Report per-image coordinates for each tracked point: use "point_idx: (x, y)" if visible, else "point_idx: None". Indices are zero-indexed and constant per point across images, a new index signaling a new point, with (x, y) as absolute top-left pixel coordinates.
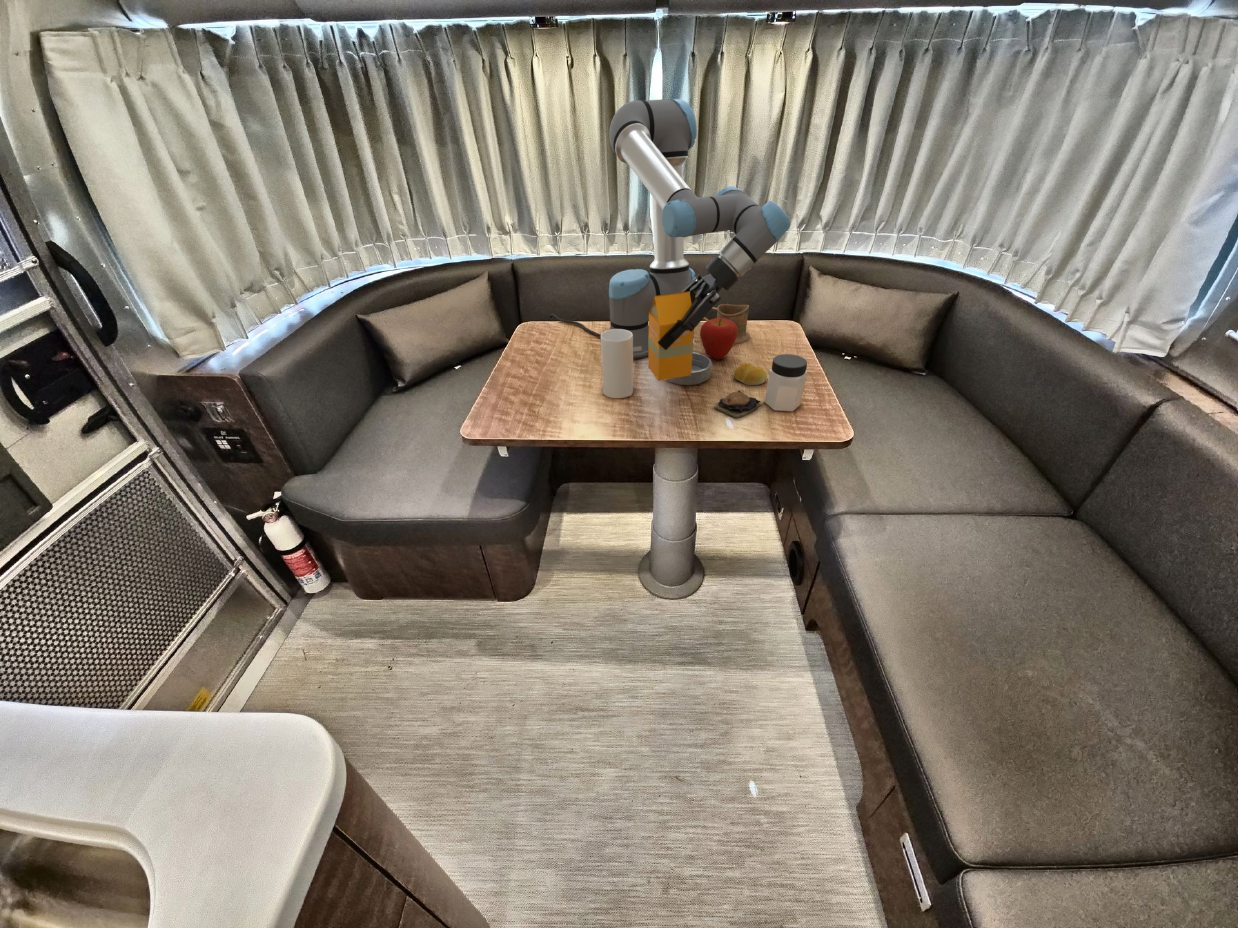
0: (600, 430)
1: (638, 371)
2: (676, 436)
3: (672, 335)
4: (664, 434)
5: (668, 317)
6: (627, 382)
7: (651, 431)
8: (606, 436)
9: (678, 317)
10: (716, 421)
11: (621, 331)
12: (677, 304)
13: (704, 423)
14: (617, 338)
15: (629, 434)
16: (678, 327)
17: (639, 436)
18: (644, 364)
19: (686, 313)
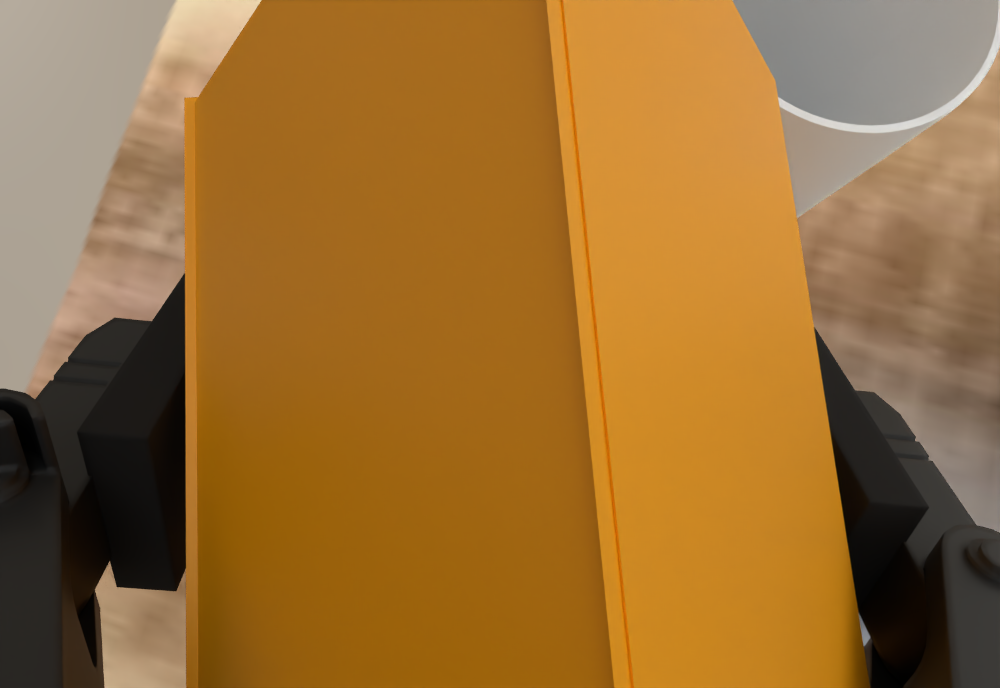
0: (250, 14)
1: (888, 389)
2: (47, 383)
3: (96, 331)
4: (92, 323)
5: (232, 255)
6: None
7: (149, 263)
8: (180, 28)
9: (230, 492)
10: (128, 681)
11: (970, 71)
12: (363, 522)
13: (130, 596)
14: (930, 74)
15: (159, 143)
16: (67, 432)
17: (120, 187)
18: (980, 454)
19: (19, 678)
